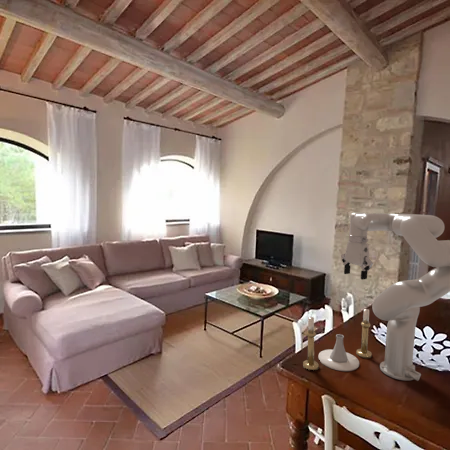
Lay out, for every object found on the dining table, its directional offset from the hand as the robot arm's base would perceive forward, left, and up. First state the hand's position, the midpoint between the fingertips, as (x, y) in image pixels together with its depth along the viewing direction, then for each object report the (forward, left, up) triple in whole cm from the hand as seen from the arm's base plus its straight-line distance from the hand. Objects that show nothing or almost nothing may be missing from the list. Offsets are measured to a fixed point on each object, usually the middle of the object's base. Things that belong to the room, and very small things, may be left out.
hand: (355, 276), depth 145 cm
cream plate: (-11, +17, -32) cm, 38 cm away
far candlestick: (-11, +3, -32) cm, 34 cm away
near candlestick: (-11, +31, -32) cm, 46 cm away
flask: (-11, +17, -31) cm, 37 cm away
